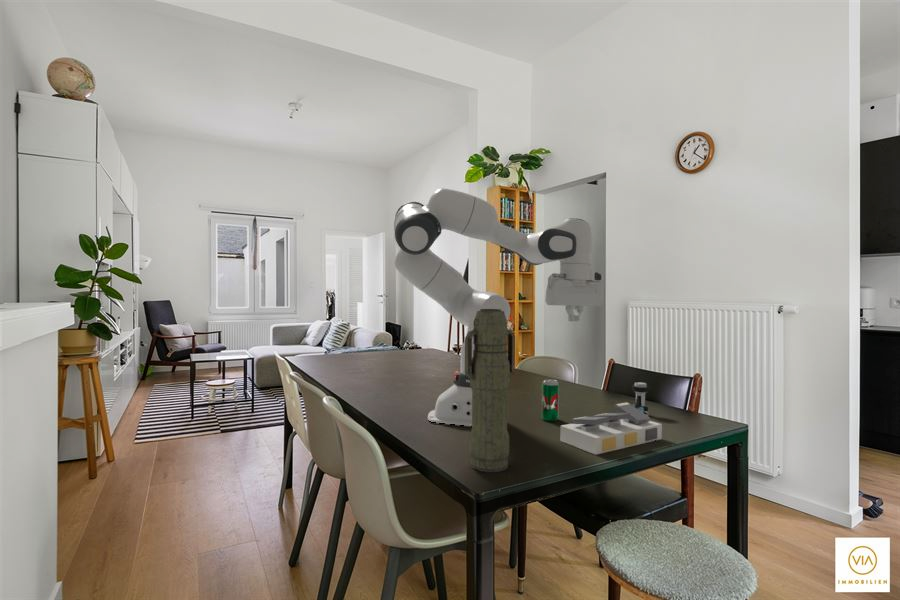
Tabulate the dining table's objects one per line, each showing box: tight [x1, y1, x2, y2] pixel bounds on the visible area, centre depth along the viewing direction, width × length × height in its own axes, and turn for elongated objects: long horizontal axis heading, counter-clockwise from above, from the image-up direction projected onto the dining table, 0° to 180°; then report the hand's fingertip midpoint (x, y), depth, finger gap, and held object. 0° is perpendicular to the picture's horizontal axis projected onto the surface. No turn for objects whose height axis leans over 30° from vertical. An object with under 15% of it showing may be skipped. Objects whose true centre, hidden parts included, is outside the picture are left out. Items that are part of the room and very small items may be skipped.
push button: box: [631, 381, 650, 417], centre depth 149 cm, size 7×5×10 cm
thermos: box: [464, 309, 516, 473], centre depth 104 cm, size 9×12×35 cm
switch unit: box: [559, 418, 663, 455], centre depth 123 cm, size 25×12×5 cm, turn 120°
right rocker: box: [613, 401, 651, 424], centre depth 127 cm, size 5×8×1 cm, turn 30°
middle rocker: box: [592, 412, 631, 420], centre depth 123 cm, size 5×8×1 cm, turn 30°
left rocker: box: [571, 416, 610, 425], centre depth 119 cm, size 5×8×1 cm, turn 30°
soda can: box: [541, 378, 560, 422], centre depth 142 cm, size 5×5×12 cm
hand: (574, 321), depth 137 cm, fingers closed
